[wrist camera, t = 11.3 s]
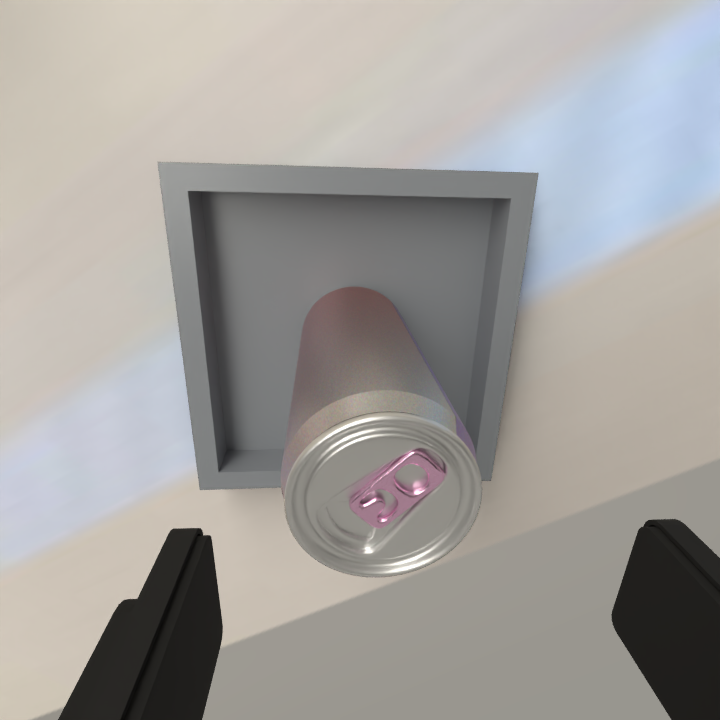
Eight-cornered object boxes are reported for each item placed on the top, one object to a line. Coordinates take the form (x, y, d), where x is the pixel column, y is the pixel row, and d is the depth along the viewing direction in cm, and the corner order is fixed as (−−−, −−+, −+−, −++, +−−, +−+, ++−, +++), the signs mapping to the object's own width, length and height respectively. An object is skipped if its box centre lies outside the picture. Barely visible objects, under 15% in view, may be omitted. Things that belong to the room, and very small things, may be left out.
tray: (511, 175, 25) (538, 172, 22) (474, 452, 31) (491, 480, 28) (178, 165, 23) (157, 161, 20) (212, 459, 29) (199, 489, 26)
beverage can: (422, 334, 26) (530, 501, 13) (351, 397, 28) (377, 612, 14) (354, 261, 25) (394, 365, 11) (281, 333, 26) (230, 508, 12)
